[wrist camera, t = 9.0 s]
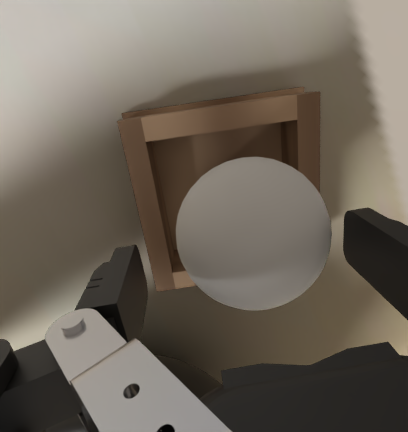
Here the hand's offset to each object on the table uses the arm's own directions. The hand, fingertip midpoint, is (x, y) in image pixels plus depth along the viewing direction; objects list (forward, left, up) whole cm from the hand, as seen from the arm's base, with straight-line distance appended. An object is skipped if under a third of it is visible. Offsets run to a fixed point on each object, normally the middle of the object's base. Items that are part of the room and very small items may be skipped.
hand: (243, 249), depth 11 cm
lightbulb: (0, 0, -9) cm, 9 cm away
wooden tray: (0, 0, -10) cm, 10 cm away
